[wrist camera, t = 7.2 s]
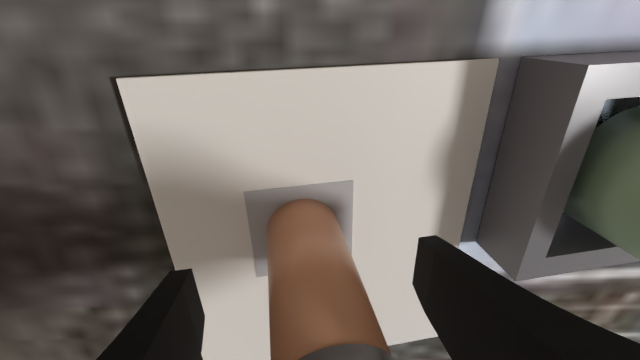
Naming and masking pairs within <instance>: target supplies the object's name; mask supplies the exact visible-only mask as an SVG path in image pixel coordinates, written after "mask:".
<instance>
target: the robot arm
mask: <svg viewBox="0 0 640 360" xmlns="http://www.w3.org/2000/svg"><path fill="white" fill-rule="evenodd" d="M412 285H413V287H414V289H415V292H416V294H417V297H418V299H419V301H420V303H421V306H422V308H423V310H424V312H425V314H426V316H427V318H428V319H429V321H430V323H431V325H432V326H433V328H434V330H435V331H436V333H437V335H438V337H439V338H440V340H441V342H442V343H443V345H444V347H445V348H446V350H447V352H448V353H449V355H450V357H451V359H452V360H640V344H639V343H637V342H634V341H632V340H630V339H627V338H625V337H623V336H620V335H618V334H616V333H613V332H611V331H608V330H606V329H604V328H602V327H599V326H597V325H595V324H593V323H591V322H588V321H586V320H584V319H582V318H580V317H578V316H576V315H574V314H572V313H570V312H568V311H566V310H564V309H562V308H559V307H557V306H555V305H553V304H552V303H550V302H548V301H546V300H544V299H542V298H540V297H538V296H536V295H535V294H533V293H531V292H529V291H527V290H526V289H524V288H522V287H520V286H518V285H517V284H515V283H513V282H512V281H510V280H508V279H506V278H505V277H503V276H501V275H500V274H498V273H496V272H495V271H493V270H491V269H490V268H488V267H487V266H485V265H483V264H482V263H480V262H479V261H477V260H475V259H474V258H472V257H471V256H469V255H467V254H466V253H464V252H463V251H461V250H460V249H458V248H456V247H455V246H453V245H452V244H450V243H448V242H447V241H445V240H443V239H442V238H440V237H438V236H437V235H433V236H426V237H419V239H418V246H417V253H416V260H415V267H414V274H413V281H412ZM204 323H205V314H204V311H203V307H202V303H201V300H200V296H199V293H198V289H197V286H196V282H195V278H194V275H193V271H192V268H190V269H183V270H176V271H170V272H169V273H168V274H167V276H166V277H165V278H164V279H163V281H162V282H161V283H160V284H159V286H158V287H157V288H156V289H155V291H154V292H153V293H152V294H151V296H150V297H149V298H148V299H147V301H146V302H145V303H144V304H143V306H142V307H141V308H140V309H139V311H138V312H137V313H136V314H135V315H134V317H133V318H132V319H131V320H130V321H129V323H128V324H127V325H126V326H125V327H124V329H123V330H122V331H121V332H120V333H119V335H118V336H117V337H116V338H115V339H114V340H113V342H112V343H111V344H110V345H109V346H108V347H107V348H106V349H105V350H104V352H103V353H102V354H101V355H100V356H99V357H98V358H97V359H96V360H200V356H201V351H202V343H203V334H204Z"/></svg>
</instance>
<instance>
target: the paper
mask: <svg viewBox="0 0 640 360" xmlns="http://www.w3.org/2000/svg"><path fill="white" fill-rule="evenodd" d="M499 60H500V59H497V58H491V59H472V60H452V61H433V62H414V63H394V64H375V65H355V66H336V67H316V68H297V69H278V70H258V71H239V72H219V73H200V74H181V75H161V76H142V77H122V78H116V81H117V85H118V88H119V91H120V94H121V97H122V101H123V104H124V107H125V110H126V113H127V117H128V120H129V123H130V126H131V130H132V133H133V136H134V139H135V142H136V146H137V149H138V152H139V155H140V159H141V162H142V165H143V168H144V171H145V175H146V178H147V181H148V184H149V187H150V191H151V194H152V197H153V200H154V204H155V207H156V210H157V213H158V216H159V220H160V223H161V226H162V229H163V233H164V236H165V239H166V242H167V245H168V249H169V252H170V255H171V258H172V261H173V265H174V268H175V271H176V270H183V269H190V268H192V271H193V275H194V278H195V282H196V286H197V289H198V293H199V296H200V300H201V303H202V307H203V311H204V314H205V323H204V334H203V343H202V351H201V355H202V358H203V360H271V357H270V327H269V297H268V268H267V238H266V229H267V224H268V221H269V219H270V217H271V216H272V214H273V213H274V212H275V211H276V210H277V209H278V208H279V207H281V206H282V205H284V204H286V203H288V202H290V201H293V200H298V199H313V200H317V201H320V202H322V203H324V204H326V205H327V206H328V207H330V208H331V209H332V211H333V212H334V213H335V216H336V218H337V220H338V223H339V225H340V228H341V230H342V233H343V235H344V238H345V240H346V243H347V245H348V248H349V250H350V253H351V255H352V258H353V260H354V263H355V265H356V268H357V270H358V273H359V275H360V278H361V280H362V283H363V285H364V288H365V290H366V293H367V295H368V298H369V300H370V303H371V305H372V308H373V310H374V313H375V315H376V318H377V320H378V323H379V325H380V328H381V330H382V333H383V335H384V338H385V340H386V343H387V345H388V346H389V345H394V344H400V343H405V342H411V341H416V340H421V339H427V338H432V337H438V335H437V333H436V331H435V330H434V328H433V326H432V325H431V323H430V321H429V319H428V318H427V316H426V314H425V312H424V310H423V308H422V306H421V303H420V301H419V299H418V297H417V294H416V292H415V289H414V287H413V285H412V281H413V274H414V267H415V260H416V253H417V246H418V239H419V237H426V236H433V235H437V236H438V237H440V238H442V239H443V240H445V241H447V242H448V243H450V244H452V245H453V246H455V247H456V248H459V244H460V239H461V235H462V230H463V225H464V221H465V216H466V211H467V207H468V202H469V198H470V193H471V188H472V184H473V179H474V175H475V170H476V165H477V161H478V156H479V152H480V147H481V142H482V138H483V133H484V129H485V124H486V119H487V115H488V110H489V106H490V101H491V96H492V92H493V87H494V83H495V78H496V73H497V69H498V64H499Z"/></svg>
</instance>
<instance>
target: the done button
mask: <svg viewBox="0 0 640 360" xmlns="http://www.w3.org/2000/svg"><path fill="white" fill-rule="evenodd" d="M564 212H565V213H566V214H567V215H568V216H570V217H571V218H573V219H574V220H576V221H577V222H579V223H581V224H582V225H584V226H586V227H587V228H589V229H590V230H592V231H594V232H595V233H597V234H598V235H600V236H602V237H603V238H605V239H607V240H608V241H610V242H611V243H613V244H615V245H616V246H618V247H619V248H621V249H623V250H624V251H626V252H628V253H629V254H631V255H632V256H634V257H636V258H637V259H639V260H640V106H637V107H633V108H630V109H627V110H625V111H622V112H620V113H618V114H616V115H614V116H612V117H611V118H609V119H608V120H606V121H605V122H603V123H602V124H601V125H599V126H598V127H597V128H596V129H595V130H594V132H593V135H592V137H591V140H590V143H589V145H588V148H587V150H586V153H585V156H584V158H583V161H582V164H581V166H580V169H579V171H578V174H577V177H576V179H575V182H574V184H573V187H572V190H571V192H570V195H569V198H568V200H567V203H566V205H565V208H564Z"/></svg>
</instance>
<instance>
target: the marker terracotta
mask: <svg viewBox="0 0 640 360" xmlns="http://www.w3.org/2000/svg"><path fill="white" fill-rule="evenodd" d="M266 238H267V268H268V297H269V327H270V357H271V360H395V359H394V358H393V357H392V355H391V353H390V350H389V348H388V345H387V343H386V340H385V338H384V335H383V333H382V330H381V328H380V325H379V323H378V320H377V318H376V315H375V313H374V310H373V308H372V305H371V303H370V300H369V298H368V295H367V293H366V290H365V288H364V285H363V283H362V280H361V278H360V275H359V273H358V270H357V268H356V265H355V263H354V260H353V258H352V255H351V253H350V250H349V248H348V245H347V243H346V240H345V238H344V235H343V233H342V230H341V228H340V225H339V223H338V220H337V218H336V216H335V213H334V212H333V211H332V209H331V208H330V207H328V206H327V205H326V204H324V203H322V202H320V201H317V200H313V199H298V200H293V201H290V202H288V203H286V204H284V205H282V206H281V207H279V208H278V209H277V210H276V211H275V212H274V213H273V214H272V216H271V217H270V219H269V221H268V224H267V229H266Z"/></svg>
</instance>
